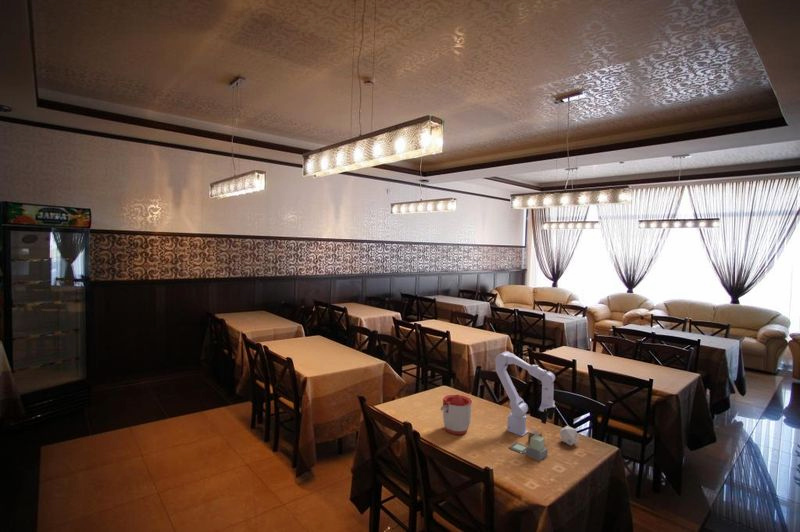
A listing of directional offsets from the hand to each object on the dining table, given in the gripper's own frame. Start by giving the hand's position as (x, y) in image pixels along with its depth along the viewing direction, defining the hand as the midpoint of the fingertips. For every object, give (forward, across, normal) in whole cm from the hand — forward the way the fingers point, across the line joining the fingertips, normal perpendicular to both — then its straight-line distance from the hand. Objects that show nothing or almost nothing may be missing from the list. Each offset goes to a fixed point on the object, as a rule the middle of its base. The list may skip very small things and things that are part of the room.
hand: (546, 421), depth 206 cm
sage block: (+7, -18, -3) cm, 20 cm away
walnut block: (+10, -6, +4) cm, 12 cm away
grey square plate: (+10, -19, +6) cm, 22 cm away
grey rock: (+11, +6, -9) cm, 16 cm away
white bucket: (+10, -27, +40) cm, 49 cm away
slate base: (+11, -19, -3) cm, 22 cm away
